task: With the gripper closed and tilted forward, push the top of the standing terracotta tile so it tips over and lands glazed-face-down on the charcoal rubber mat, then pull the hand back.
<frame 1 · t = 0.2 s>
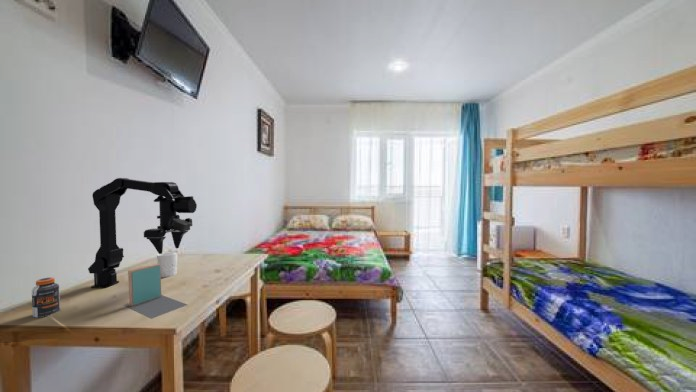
hand: (169, 250, 112), 14 cm above the table, tool pointing down, fingers open, 9 cm apart
mat: (155, 306, 93), on the table
tile: (146, 300, 97), resting on mat
pill bottle: (46, 314, 88), on the table
white cup: (168, 275, 126), on the table
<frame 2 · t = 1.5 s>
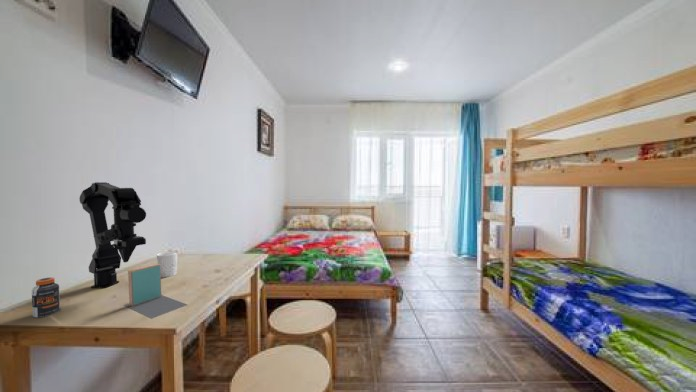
hand: (125, 262, 104), 12 cm above the table, tool pointing down, fingers closed
nothing on the table moved.
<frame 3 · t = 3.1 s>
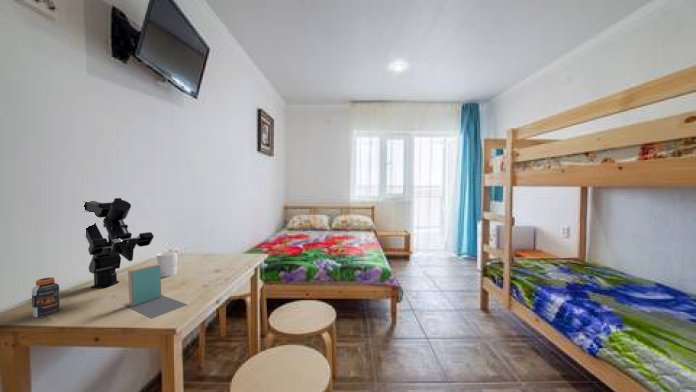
hand: (131, 260, 101), 13 cm above the table, tool tilted 45°, fingers closed
nothing on the table moved.
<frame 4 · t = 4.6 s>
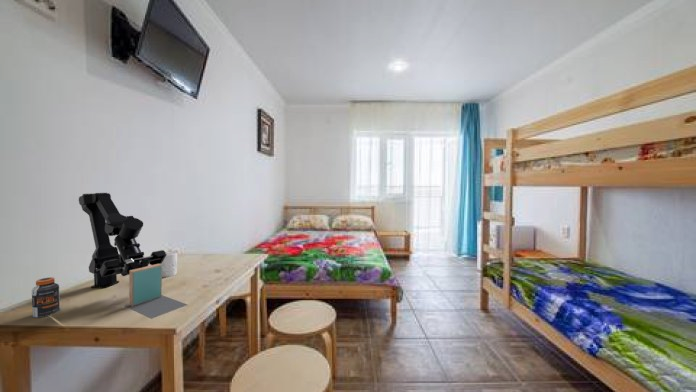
hand: (144, 281, 97), 7 cm above the table, tool tilted 45°, fingers closed, pressing on tile
tile: (146, 300, 97), resting on mat, touching gripper
everything else where it was.
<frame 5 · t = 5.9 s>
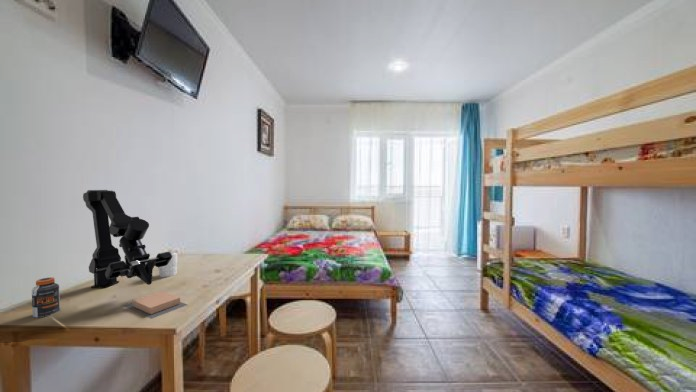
hand: (150, 283, 95), 7 cm above the table, tool tilted 45°, fingers closed
tile: (147, 298, 96), point 2 cm above the table, tilted 90°, touching mat
everything else where it was.
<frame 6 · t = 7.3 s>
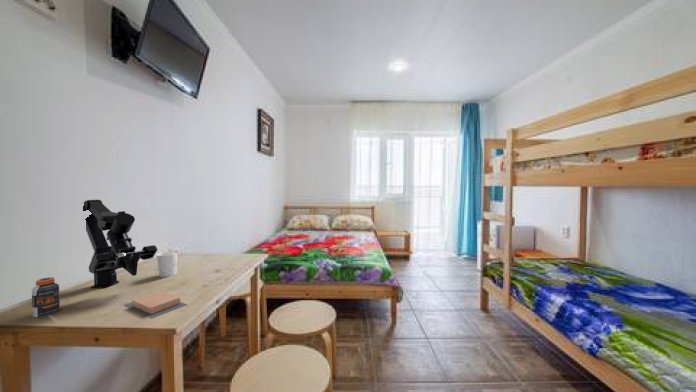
hand: (134, 275, 100), 8 cm above the table, tool tilted 45°, fingers closed
nothing on the table moved.
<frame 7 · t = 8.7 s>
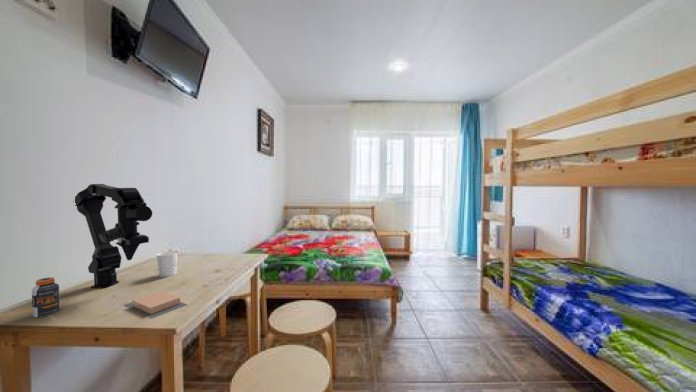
hand: (129, 260, 107), 12 cm above the table, tool pointing down, fingers closed
nothing on the table moved.
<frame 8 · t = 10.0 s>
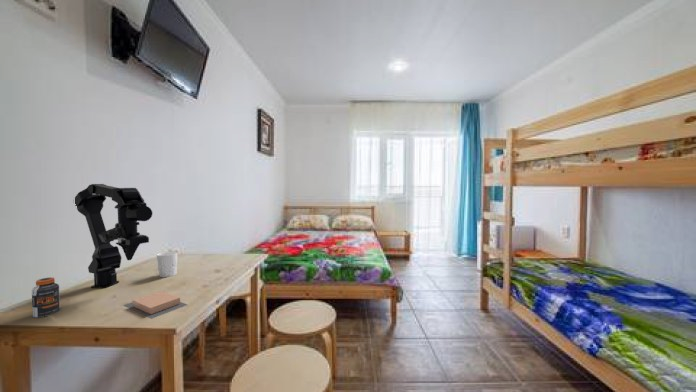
hand: (129, 260, 107), 12 cm above the table, tool pointing down, fingers closed
nothing on the table moved.
at the end: tile tilted 90°; tile inside the target area on the mat (5.2 cm from its centre), point 1.6 cm above the mat's base; the gripper is holding nothing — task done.
